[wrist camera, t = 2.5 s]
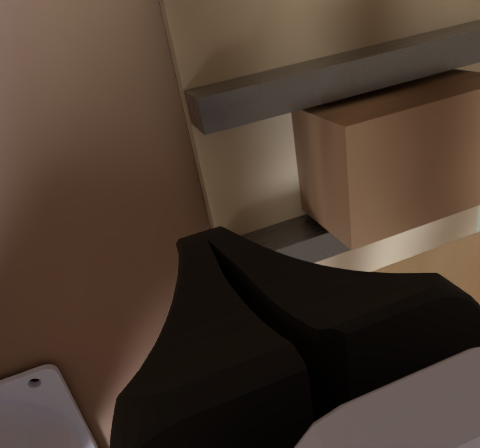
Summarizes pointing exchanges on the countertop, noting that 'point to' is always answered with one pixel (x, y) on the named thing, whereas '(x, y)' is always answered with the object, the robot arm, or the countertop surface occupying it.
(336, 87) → the channel rails
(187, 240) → the robot arm
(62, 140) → the countertop surface
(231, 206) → the chute board
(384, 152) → the walnut block
